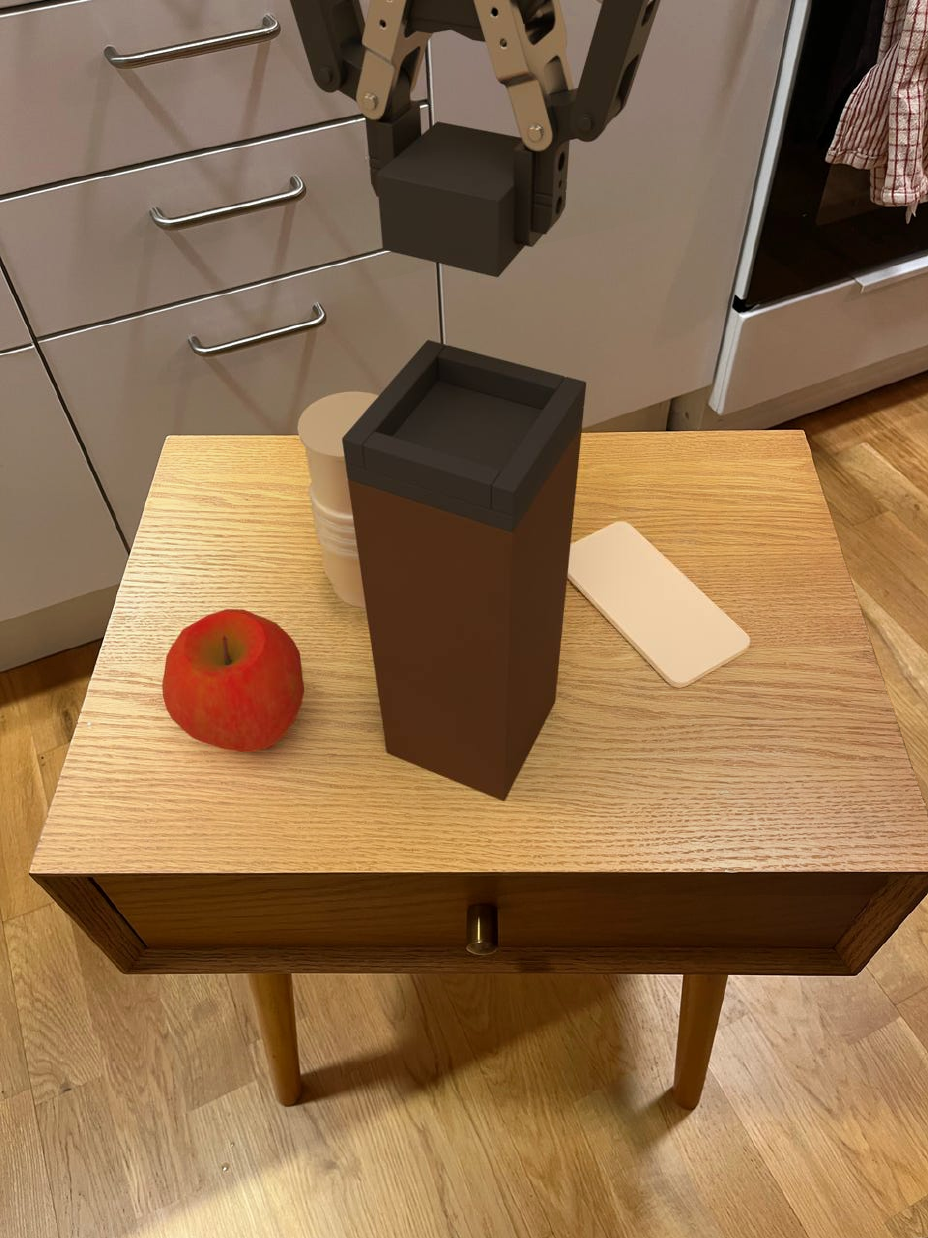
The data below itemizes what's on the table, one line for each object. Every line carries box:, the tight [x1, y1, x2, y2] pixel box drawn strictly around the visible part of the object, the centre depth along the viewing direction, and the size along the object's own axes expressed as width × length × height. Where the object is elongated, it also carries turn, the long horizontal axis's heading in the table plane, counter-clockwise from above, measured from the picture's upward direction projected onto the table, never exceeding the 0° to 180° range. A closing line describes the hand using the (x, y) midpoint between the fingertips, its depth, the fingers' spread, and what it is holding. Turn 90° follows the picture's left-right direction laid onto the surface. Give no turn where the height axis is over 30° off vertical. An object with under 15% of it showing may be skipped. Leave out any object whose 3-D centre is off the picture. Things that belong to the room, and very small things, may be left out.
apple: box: [161, 608, 305, 753], centre depth 61 cm, size 9×8×11 cm
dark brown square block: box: [377, 121, 526, 278], centre depth 37 cm, size 5×5×3 cm
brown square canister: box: [342, 339, 587, 802], centre depth 55 cm, size 9×9×26 cm
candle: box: [297, 391, 379, 609], centre depth 68 cm, size 7×7×15 cm
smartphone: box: [567, 520, 751, 689], centre depth 72 cm, size 7×1×15 cm
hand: (467, 219), depth 38 cm, fingers closed on dark brown square block, 5 cm apart
